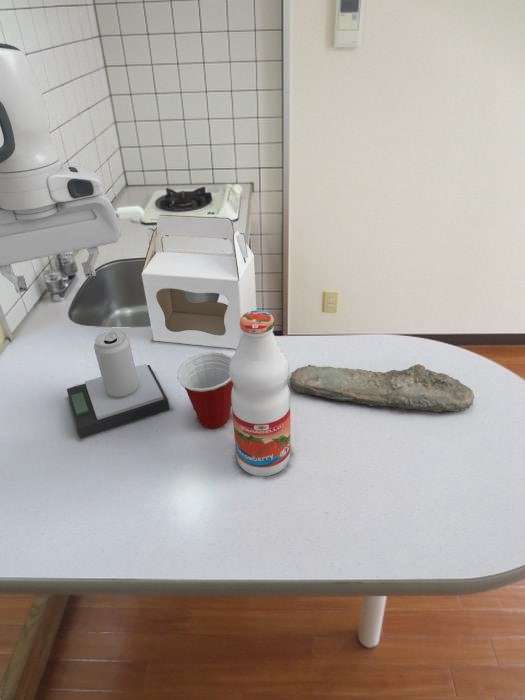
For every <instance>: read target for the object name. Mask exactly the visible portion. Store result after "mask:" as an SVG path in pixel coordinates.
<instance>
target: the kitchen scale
mask: <svg viewBox="0 0 525 700" xmlns="http://www.w3.org/2000/svg"><path fill="white" fill-rule="evenodd" d="M135 369H136V374H137V378H138V387H137V389H136V390H135V391H133V392H132V393H131V394H130V395H128V396H125V397H115V396H111V395H109V394H108V393H107V392H106V391H105V387H104V384H103V380H102V376H99V377H95V378H92V379H87V380H86V381H84V383H81V384H78V385H73V386H71V387H68V388H66V392H67V396H68V400H69V404H70V407H71V411H72V415H73V417H74V418H73V419H74V422H75V425H76V429H77V432H78V435H79V438H80V439H84V438H87V437H90V436H92V435H96V434H99V433H101V432H104V431H107V430H112V429H114V428H118V427H120V426H123V425H127V424H129V423H132V422H135V421H139V420H142V419H145V418H148V417H151V416H154V415H157V414H160V413H163V412H166V411H169V410H170V404H169V400H168V397H167V395H166V394H165V391H164V389H163V387H162V386H161V384H160V382H159V381H158V379H157V376H156V374H155V372H154V371H153V369H152V367H151V365H150V364H147V363H143V364H140V365H137V366H136V365H135Z"/></svg>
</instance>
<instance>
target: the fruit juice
mask: <svg viewBox="0 0 525 700" xmlns="http://www.w3.org/2000/svg"><path fill="white" fill-rule="evenodd" d="M256 310H257V311H250V312H247V313H245V314H244V315H242V317H241V318H240V329H241V331H242V335H241V338H240V341H239V344H238V347H237V349H235V352H234V354H233V355H232V359H231V361H230V366H229V373H230V377H231V380H232V383H233V387H232V391H231V416H232V427H233V437H234V448H235V449H234V450H235V457H236V459H237V460H236V461H237V463H238V465H239V467H240V468H241V470H243V471H244V472H245V473H248V474H249V475H253V476H255V477H256V476H257V477H268V476H273V475H276V474H278V473H280V472H282V471H283V470H284V469H285V468H286V467H287V466H288V464H289V462H290V459H291V453H292V449H291V447H292V445H291V444H292V443H291V442H292V441H291V439H292V438H291V437H292V435H291V432H292V431H291V393H290V387H289V384H288V379H289V374H290V363H289V360H288V358H287V356H286V354H285V353H284V351H282V349H281V347H280V345H279V343H278V340H277V338H276V336H275V333H274V329H275V319H274V318H275V317H274V315H273V314H272V313H270V312H268V311H266V310H258V309H256Z"/></svg>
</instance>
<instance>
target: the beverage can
mask: <svg viewBox="0 0 525 700" xmlns="http://www.w3.org/2000/svg"><path fill="white" fill-rule="evenodd" d="M93 350H94V353H95V357H96V360H97V364H98V368H99V372H100V377H102V380H103V384H104V387H105V391H106V392H107V393H108V394H109V395H111V396H115V397H125V396H128V395H130V394H131V393H132V392H133V391H135V390H136V389H137V387H138V378H137V374H136V369H135V367H136V364H135V361H134V356H133V355H134V354H133V351H132V346H131V341H130V338H129V337H128V336H127V334H126V332H124V331H123V330H121V329H109V330H105V331H102V332H101V333H98V334H97V335H96V337H95V338H94V344H93Z"/></svg>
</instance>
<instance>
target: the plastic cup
mask: <svg viewBox="0 0 525 700" xmlns="http://www.w3.org/2000/svg"><path fill="white" fill-rule="evenodd" d="M232 357H233V355H230V354H227V353H225V352H223V351H221V352H219V351H208V352H202V353H197V354H195V355H193V356H191V357H189V358H188V359H186V360H185V361H184V362H182V363H181V365H180V366H179V368H178V369H177V373H176V379H177V381H178V382H179V384H180V385H181V386H182V387H183V388H184V389H185V391H186V393H187V396H188V398H189V401H190V403H191V407H192V408H193V410H194V412H195V415H196V418H197V420H198V422H199V424H200V425H201V426H202V427H204V428H205V429H210V430H214V429H216V430H217V429H220V428H222V427H224V426H225V425H227V424H228V423H229V420H230V417H231V412H232V406H231V391H232V387H233V383H232V380H231V377H230V373H229V366H230V361H231V359H232Z"/></svg>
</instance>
